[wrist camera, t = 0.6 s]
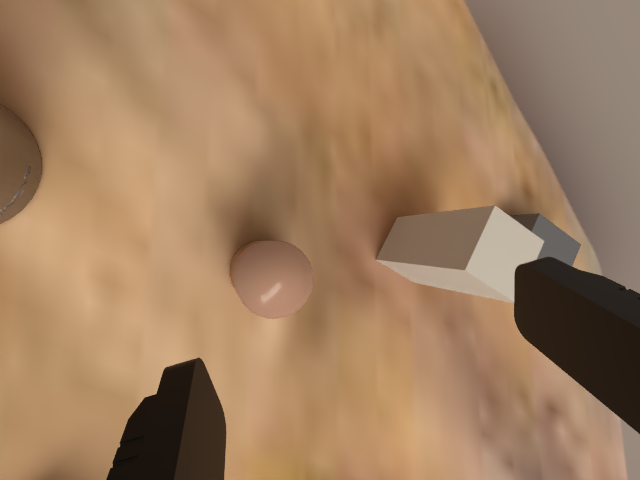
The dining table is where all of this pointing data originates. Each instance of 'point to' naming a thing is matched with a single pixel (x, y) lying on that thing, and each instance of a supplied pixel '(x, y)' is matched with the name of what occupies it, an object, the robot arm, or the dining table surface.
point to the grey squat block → (550, 238)
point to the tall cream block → (461, 250)
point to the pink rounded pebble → (271, 278)
